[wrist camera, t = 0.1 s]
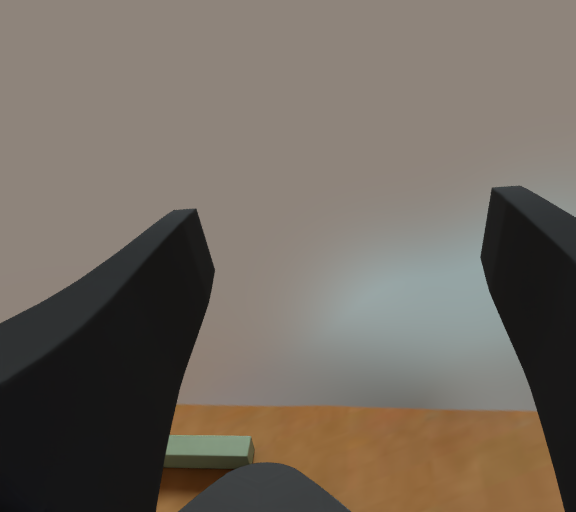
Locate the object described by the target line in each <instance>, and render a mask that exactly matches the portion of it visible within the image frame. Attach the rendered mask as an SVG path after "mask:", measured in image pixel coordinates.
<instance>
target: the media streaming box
mask: <svg viewBox="0 0 576 512" xmlns="http://www.w3.org/2000/svg"><path fill="white" fill-rule="evenodd" d="M178 512H351V511H350V510H348V509H347V508H346V507H345V506H344V505H343V504H341V503H340V502H339V501H338V500H337V499H335V498H334V497H333V496H332V495H330V494H329V493H328V492H327V491H325V490H324V489H323V488H321V487H320V486H319V485H317V484H316V483H315V482H313V481H312V480H311V479H309V478H308V477H307V476H305V475H304V474H302V473H301V472H299V471H298V470H296V469H295V468H293V467H290V466H287V465H284V464H279V463H269V462H266V463H255V464H249V465H246V466H242V467H239V468H237V469H234V470H232V471H230V472H228V473H227V474H225V475H224V476H223V477H221V478H220V479H218V480H217V481H216V482H214V483H213V484H212V485H210V486H209V487H208V488H206V489H205V490H204V491H203V492H201V493H200V494H199V495H198V496H196V497H195V498H194V499H193V500H191V501H190V502H189V503H188V504H187V505H185V506H184V507H183V508H182V509H181V510H180V511H178Z"/></svg>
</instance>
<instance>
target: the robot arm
mask: <svg viewBox="0 0 576 512" xmlns="http://www.w3.org/2000/svg"><path fill="white" fill-rule="evenodd" d="M481 261H482V265H483V269H484V273H485V277H486V281H487V284H488V288H489V292H490V294H491V296H492V299H493V301H494V304H495V306H496V308H497V310H498V313H499V315H500V318H501V320H502V322H503V325H504V327H505V329H506V331H507V334H508V336H509V338H510V340H511V343H512V345H513V347H514V349H515V351H516V354H517V356H518V359H519V361H520V363H521V366H522V368H523V370H524V373H525V375H526V378H527V380H528V383H529V386H530V389H531V392H532V395H533V398H534V402H535V405H536V408H537V412H538V415H539V418H540V421H541V425H542V428H543V431H544V435H545V439H546V442H547V446H548V449H549V453H550V456H551V460H552V463H553V467H554V471H555V475H556V478H557V482H558V486H559V490H560V494H561V498H562V502H563V506H564V510H565V512H576V217H574V216H572V215H570V214H569V213H567V212H565V211H564V210H562V209H560V208H559V207H557V206H555V205H554V204H552V203H550V202H549V201H547V200H545V199H544V198H542V197H540V196H538V195H537V194H535V193H533V192H532V191H530V190H528V189H526V188H524V187H522V186H510V187H495V188H492V190H491V196H490V202H489V208H488V214H487V221H486V227H485V233H484V240H483V245H482V251H481ZM214 272H215V269H214V266H213V262H212V259H211V255H210V252H209V249H208V246H207V242H206V239H205V236H204V233H203V229H202V226H201V223H200V219H199V216H198V213H197V209H183V210H173V211H172V212H170V213H169V214H167V215H166V216H164V217H163V218H161V219H160V220H159V221H157V222H156V223H155V224H153V225H152V226H151V227H150V228H149V229H147V230H146V231H144V232H143V233H142V234H141V235H139V236H138V237H137V238H136V239H134V240H133V241H132V242H130V243H129V244H128V245H126V246H125V247H124V248H123V249H121V250H120V251H119V252H117V253H116V254H115V255H113V256H112V257H111V258H109V259H108V260H106V261H105V262H103V263H102V264H101V265H99V266H98V267H96V268H95V269H94V270H92V271H91V272H89V273H88V274H87V275H85V276H84V277H82V278H81V279H79V280H78V281H76V282H74V283H73V284H71V285H70V286H68V287H67V288H65V289H63V290H62V291H60V292H58V293H56V294H55V295H53V296H51V297H50V298H48V299H47V300H44V301H43V302H41V303H40V304H37V305H35V306H33V307H32V308H29V309H27V310H26V311H24V312H22V313H20V314H18V315H16V316H14V317H12V318H10V319H8V320H6V321H4V322H2V323H0V512H156V506H157V500H158V495H159V489H160V483H161V477H162V471H163V465H164V460H165V455H166V450H167V445H168V440H169V435H170V430H171V425H172V421H173V416H174V412H175V407H176V403H177V399H178V394H179V390H180V386H181V383H182V380H183V376H184V373H185V370H186V367H187V364H188V362H189V359H190V356H191V353H192V350H193V347H194V344H195V342H196V339H197V336H198V333H199V330H200V327H201V324H202V322H203V319H204V316H205V313H206V309H207V307H208V303H209V299H210V294H211V289H212V284H213V278H214Z"/></svg>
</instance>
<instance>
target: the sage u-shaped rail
mask: <svg viewBox="0 0 576 512" xmlns="http://www.w3.org/2000/svg"><path fill="white" fill-rule="evenodd" d="M253 455H254V446H253V442H252V438H251V436H193V435H169V440H168V445H167V450H166V455H165V460H164V465H163V467H171V468H215V469H237V468H239V467H242V466H246V465H249V464H252V461H253Z"/></svg>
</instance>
